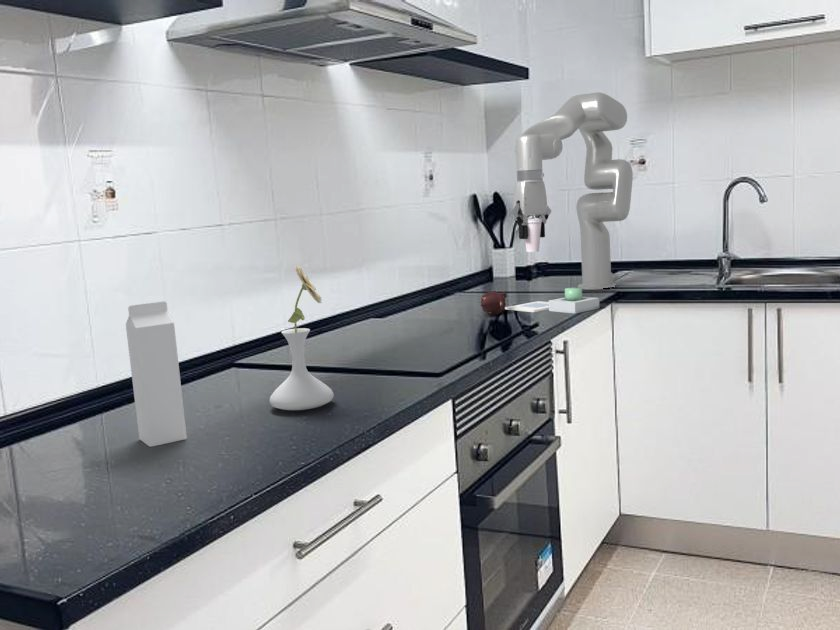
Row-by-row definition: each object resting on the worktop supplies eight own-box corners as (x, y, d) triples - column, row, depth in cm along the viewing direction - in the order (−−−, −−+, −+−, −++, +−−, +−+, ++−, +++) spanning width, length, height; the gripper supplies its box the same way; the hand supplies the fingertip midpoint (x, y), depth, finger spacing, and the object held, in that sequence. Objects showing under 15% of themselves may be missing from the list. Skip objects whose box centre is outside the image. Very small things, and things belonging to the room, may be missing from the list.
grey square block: (572, 306, 248) (572, 296, 247) (599, 308, 240) (599, 298, 239) (548, 310, 242) (548, 300, 241) (575, 313, 234) (574, 302, 234)
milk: (139, 439, 136) (122, 304, 133) (176, 431, 140) (160, 299, 137) (149, 447, 131) (132, 307, 128) (188, 439, 135) (172, 302, 131)
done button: (573, 299, 244) (572, 287, 243) (585, 300, 240) (585, 287, 240) (561, 301, 241) (561, 289, 240) (574, 302, 237) (573, 290, 237)
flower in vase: (320, 416, 143) (307, 269, 140) (259, 415, 146) (245, 271, 143) (347, 396, 156) (336, 261, 152) (290, 396, 159) (278, 264, 155)
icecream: (495, 296, 233) (518, 293, 246) (472, 289, 236) (495, 287, 249) (490, 320, 234) (512, 316, 247) (467, 313, 238) (490, 309, 250)
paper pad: (538, 303, 259) (538, 300, 259) (567, 305, 249) (567, 303, 249) (505, 309, 250) (504, 307, 250) (534, 312, 241) (533, 309, 241)
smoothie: (536, 252, 248) (534, 204, 247) (517, 252, 252) (516, 205, 251) (547, 250, 253) (545, 203, 252) (529, 250, 257) (527, 204, 256)
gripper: (542, 177, 258) (544, 236, 260) (499, 178, 248) (502, 240, 250) (559, 175, 252) (561, 236, 254) (516, 177, 242) (519, 240, 244)
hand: (532, 237), depth 252 cm, fingers closed on smoothie, 6 cm apart
